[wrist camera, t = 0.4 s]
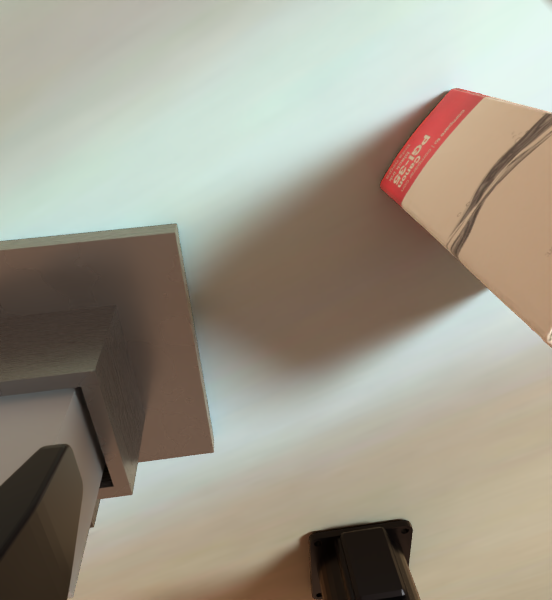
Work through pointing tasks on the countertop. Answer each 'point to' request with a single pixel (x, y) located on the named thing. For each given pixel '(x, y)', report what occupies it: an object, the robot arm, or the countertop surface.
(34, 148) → the countertop surface
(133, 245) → the stand base
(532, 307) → the ink box
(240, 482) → the countertop surface
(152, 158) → the countertop surface
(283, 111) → the countertop surface
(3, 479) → the column
